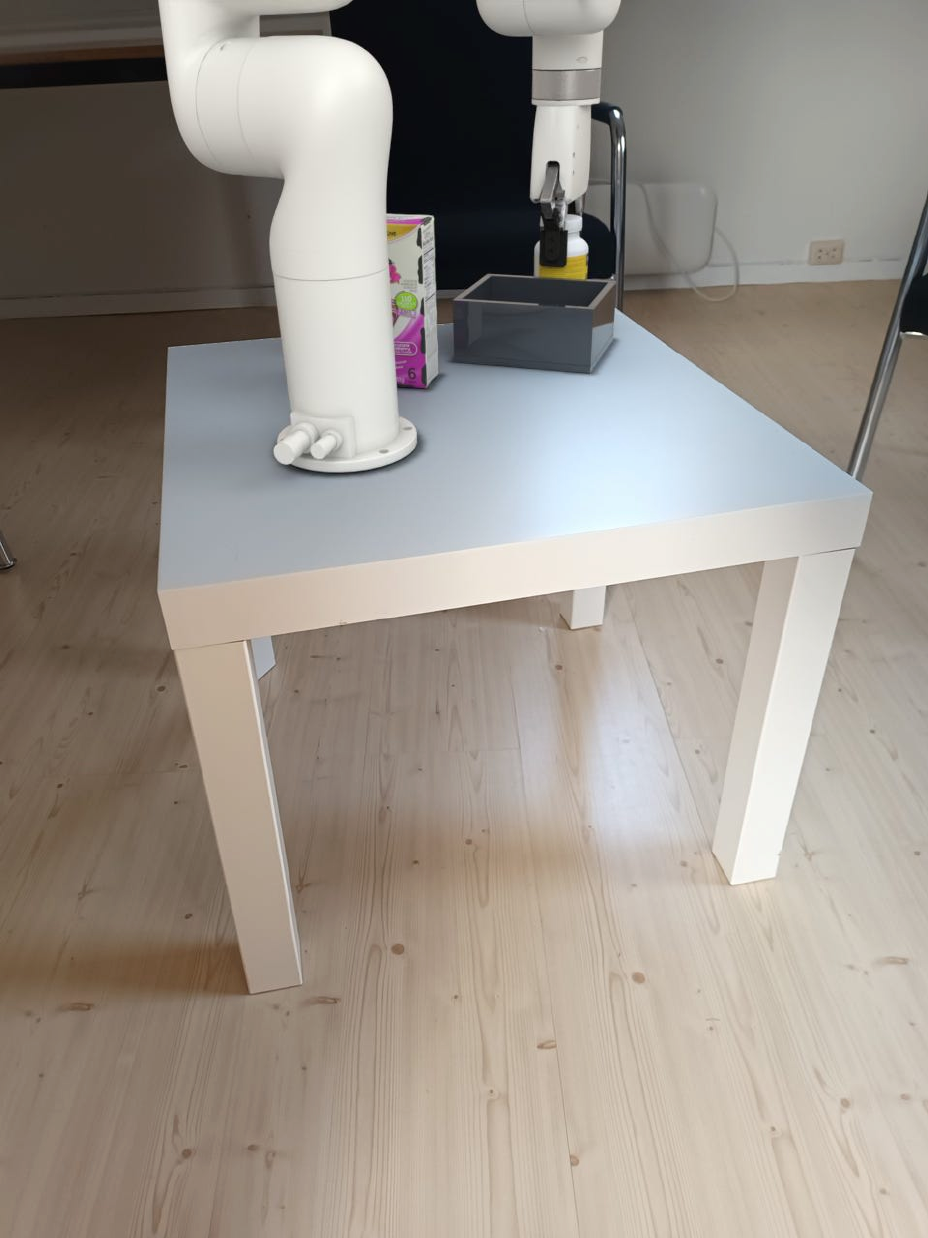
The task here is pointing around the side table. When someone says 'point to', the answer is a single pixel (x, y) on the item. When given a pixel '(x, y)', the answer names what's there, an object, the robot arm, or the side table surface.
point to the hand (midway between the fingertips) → (560, 257)
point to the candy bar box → (413, 298)
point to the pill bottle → (575, 254)
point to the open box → (534, 322)
